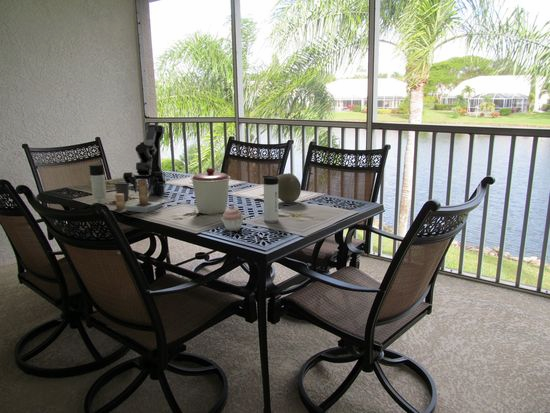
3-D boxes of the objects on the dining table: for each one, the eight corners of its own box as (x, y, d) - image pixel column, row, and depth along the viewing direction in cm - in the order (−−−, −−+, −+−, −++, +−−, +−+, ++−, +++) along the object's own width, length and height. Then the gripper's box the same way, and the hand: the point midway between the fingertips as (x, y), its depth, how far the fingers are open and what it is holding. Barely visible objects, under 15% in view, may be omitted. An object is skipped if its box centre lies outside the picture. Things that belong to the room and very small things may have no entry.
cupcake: (217, 230, 175) (216, 206, 173) (227, 224, 184) (227, 201, 181) (238, 233, 172) (237, 208, 170) (247, 226, 181) (247, 203, 178)
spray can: (110, 202, 224) (106, 163, 219) (101, 205, 218) (96, 165, 213) (99, 201, 226) (95, 163, 221) (90, 204, 220) (85, 165, 215)
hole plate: (126, 210, 208) (125, 206, 208) (142, 204, 219) (142, 200, 218) (146, 212, 203) (145, 208, 203) (162, 206, 214) (161, 202, 214)
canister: (197, 207, 213) (194, 164, 208) (233, 207, 213) (232, 164, 208) (188, 217, 196) (186, 170, 191) (228, 217, 195) (227, 170, 190)
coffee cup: (134, 198, 232) (133, 180, 229) (123, 202, 224) (121, 183, 222) (123, 197, 235) (121, 179, 232) (111, 200, 228) (109, 181, 225)
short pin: (114, 208, 211) (113, 194, 209) (120, 207, 214) (119, 193, 213) (121, 209, 209) (119, 195, 207) (126, 207, 213) (125, 193, 211)
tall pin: (138, 208, 211) (136, 180, 208) (146, 207, 214) (144, 179, 210) (142, 209, 208) (139, 181, 205) (150, 208, 211) (147, 180, 208)
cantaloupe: (286, 198, 231) (286, 170, 227) (306, 202, 221) (306, 173, 217) (267, 202, 221) (267, 173, 217) (287, 207, 211) (287, 177, 208)
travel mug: (262, 219, 191) (262, 174, 186) (277, 218, 192) (277, 174, 187) (263, 223, 185) (263, 177, 180) (279, 222, 186) (278, 176, 181)
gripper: (122, 155, 208) (117, 182, 200) (161, 155, 209) (158, 182, 201) (128, 169, 218) (124, 195, 210) (165, 168, 219) (163, 195, 211)
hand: (142, 191), depth 208 cm, fingers open, 6 cm apart
